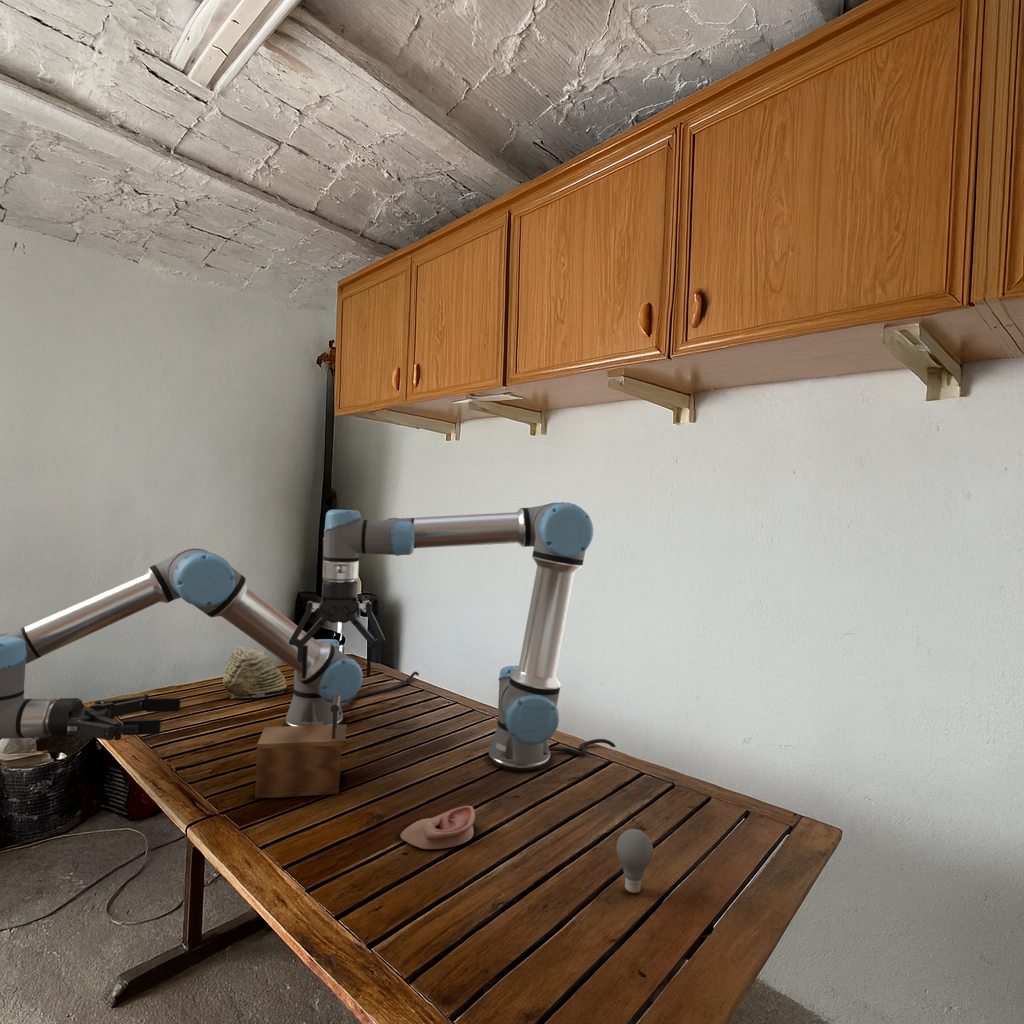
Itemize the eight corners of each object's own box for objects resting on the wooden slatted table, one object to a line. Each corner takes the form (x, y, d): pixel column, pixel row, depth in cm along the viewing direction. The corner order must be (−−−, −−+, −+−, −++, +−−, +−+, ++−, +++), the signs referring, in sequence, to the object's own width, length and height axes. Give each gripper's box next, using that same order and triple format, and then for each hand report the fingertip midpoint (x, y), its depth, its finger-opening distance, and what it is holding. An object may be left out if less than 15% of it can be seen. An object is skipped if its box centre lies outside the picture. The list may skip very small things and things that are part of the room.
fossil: (218, 695, 195) (220, 647, 195) (278, 685, 208) (279, 640, 207) (228, 703, 189) (230, 653, 188) (289, 692, 201) (290, 645, 201)
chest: (340, 774, 145) (342, 729, 145) (338, 794, 135) (340, 745, 135) (262, 778, 141) (264, 732, 141) (254, 798, 132) (256, 749, 131)
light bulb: (610, 879, 108) (613, 822, 108) (644, 879, 109) (647, 822, 109) (619, 902, 102) (622, 840, 102) (655, 901, 103) (658, 840, 103)
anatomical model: (394, 823, 116) (416, 795, 127) (393, 844, 116) (415, 814, 128) (464, 834, 114) (480, 804, 125) (463, 855, 114) (479, 824, 125)
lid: (346, 728, 145) (348, 692, 145) (344, 745, 135) (346, 706, 135) (264, 731, 141) (265, 694, 141) (256, 749, 131) (258, 708, 131)
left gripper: (81, 715, 140) (186, 712, 144) (21, 761, 115) (149, 756, 120) (82, 681, 139) (187, 680, 144) (22, 720, 115) (151, 717, 120)
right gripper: (278, 581, 133) (274, 682, 133) (398, 583, 138) (394, 679, 138) (282, 576, 140) (279, 672, 140) (397, 578, 145) (393, 670, 146)
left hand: (170, 714), depth 132 cm, fingers open, 13 cm apart
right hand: (336, 676), depth 139 cm, fingers open, 13 cm apart
